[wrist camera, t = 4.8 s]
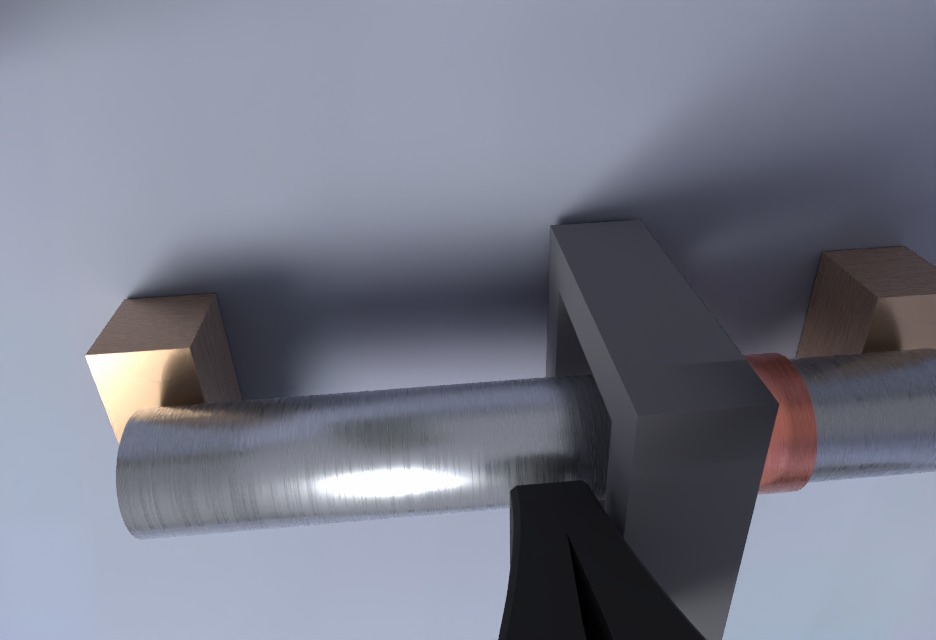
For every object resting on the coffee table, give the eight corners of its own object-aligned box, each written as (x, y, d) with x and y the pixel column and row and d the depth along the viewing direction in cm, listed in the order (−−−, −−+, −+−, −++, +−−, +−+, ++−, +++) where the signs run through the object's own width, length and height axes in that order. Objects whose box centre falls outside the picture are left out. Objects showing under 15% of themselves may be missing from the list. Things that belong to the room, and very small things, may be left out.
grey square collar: (640, 219, 15) (779, 404, 10) (618, 443, 19) (712, 677, 13) (550, 225, 15) (638, 415, 10) (544, 449, 19) (606, 688, 13)
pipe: (904, 246, 16) (1076, 363, 12) (861, 383, 19) (995, 524, 14) (124, 299, 16) (21, 445, 11) (169, 438, 18) (97, 605, 13)
